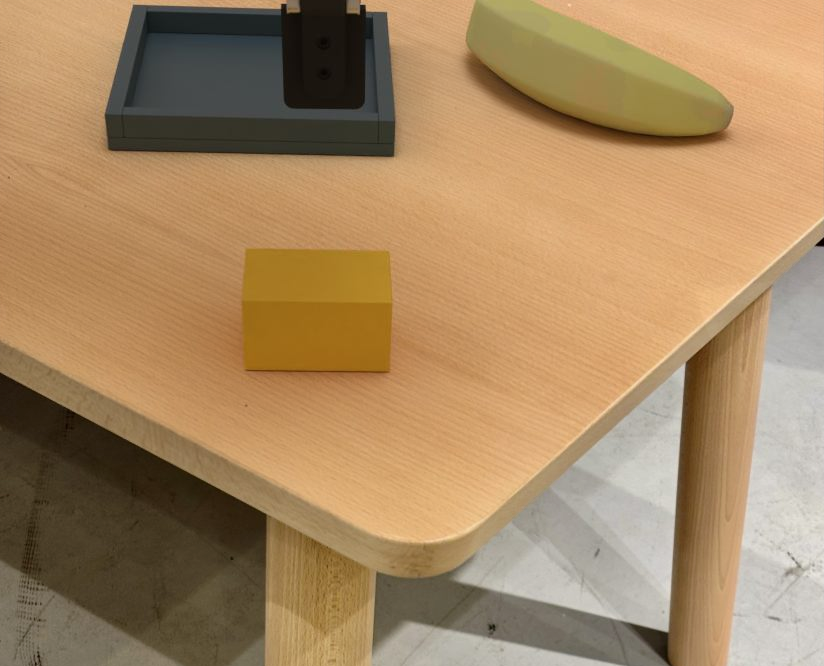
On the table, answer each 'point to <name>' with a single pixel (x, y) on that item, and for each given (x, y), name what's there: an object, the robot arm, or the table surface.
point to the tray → (235, 88)
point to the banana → (591, 72)
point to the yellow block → (316, 310)
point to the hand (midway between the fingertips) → (324, 53)
